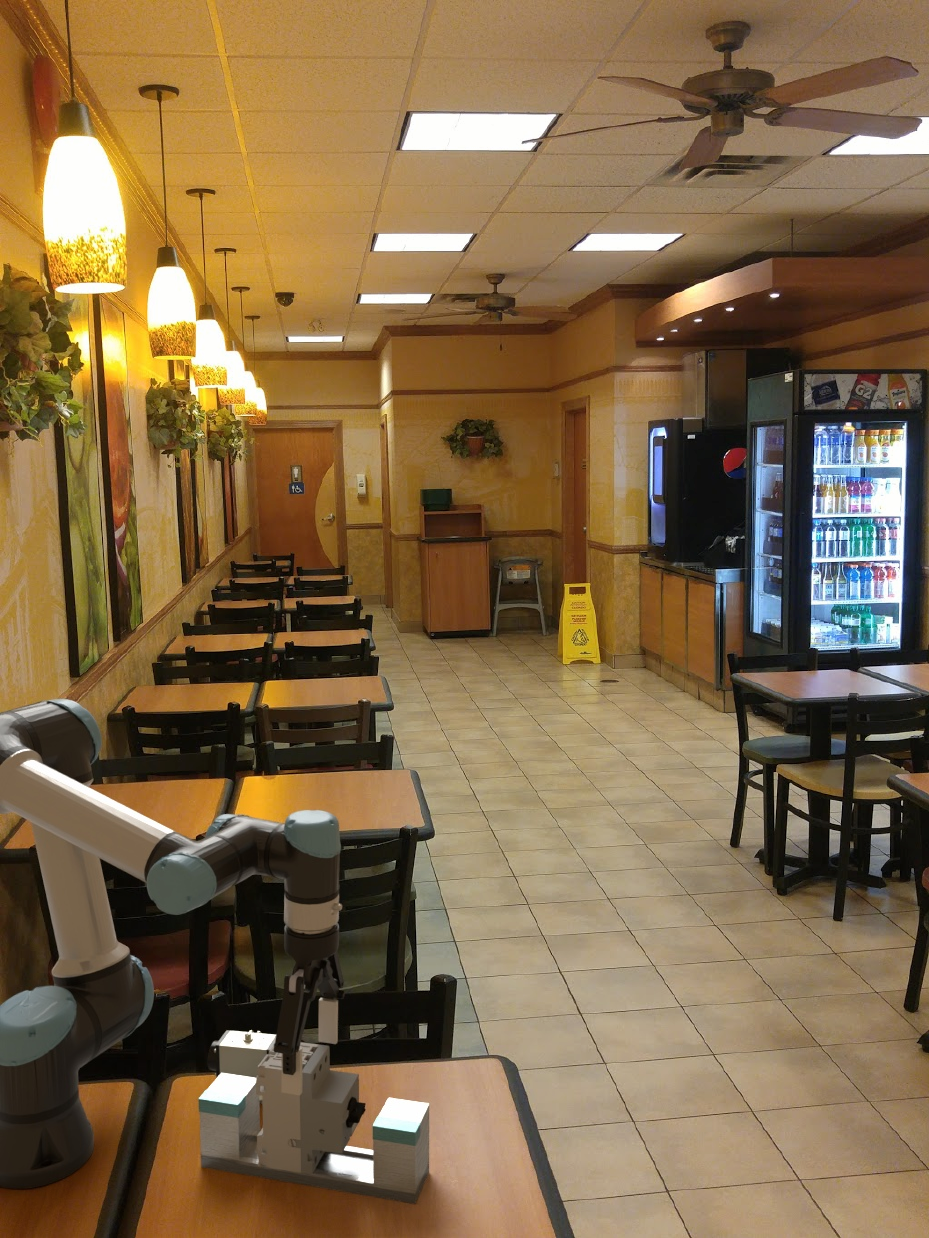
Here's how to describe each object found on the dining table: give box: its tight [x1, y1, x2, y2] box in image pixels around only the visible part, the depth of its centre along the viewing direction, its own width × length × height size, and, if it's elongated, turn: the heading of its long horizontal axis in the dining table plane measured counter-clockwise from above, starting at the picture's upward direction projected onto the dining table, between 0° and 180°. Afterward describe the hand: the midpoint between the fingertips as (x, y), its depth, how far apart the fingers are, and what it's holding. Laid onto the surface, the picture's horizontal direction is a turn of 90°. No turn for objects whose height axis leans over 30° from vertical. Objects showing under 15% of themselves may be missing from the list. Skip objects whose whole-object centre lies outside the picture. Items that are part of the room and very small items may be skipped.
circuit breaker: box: [256, 1041, 367, 1174], centre depth 154 cm, size 8×14×15 cm, turn 78°
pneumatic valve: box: [207, 1029, 276, 1105], centre depth 171 cm, size 6×12×12 cm, turn 81°
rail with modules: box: [198, 1073, 430, 1205], centre depth 154 cm, size 32×7×11 cm, turn 76°
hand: (310, 1066), depth 153 cm, fingers open, 13 cm apart
